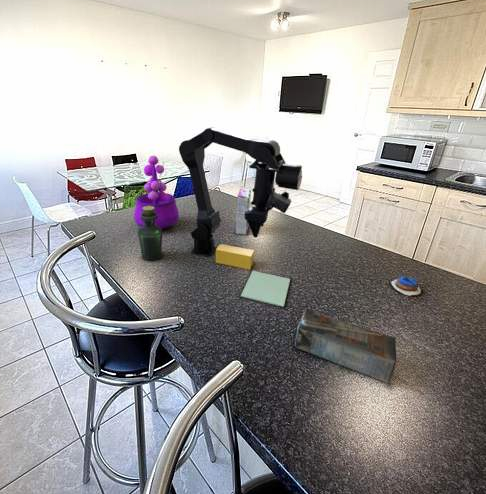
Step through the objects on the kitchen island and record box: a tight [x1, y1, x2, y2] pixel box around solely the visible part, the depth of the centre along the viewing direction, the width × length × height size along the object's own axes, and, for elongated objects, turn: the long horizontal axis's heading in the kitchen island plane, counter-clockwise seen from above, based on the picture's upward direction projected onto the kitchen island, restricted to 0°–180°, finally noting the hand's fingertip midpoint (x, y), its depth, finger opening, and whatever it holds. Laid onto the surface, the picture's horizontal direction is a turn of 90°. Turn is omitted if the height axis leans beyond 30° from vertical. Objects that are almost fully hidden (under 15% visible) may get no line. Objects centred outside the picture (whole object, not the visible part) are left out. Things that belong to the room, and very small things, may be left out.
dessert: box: [390, 274, 422, 296], centre depth 87 cm, size 8×7×6 cm
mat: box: [240, 270, 291, 308], centre depth 86 cm, size 12×14×1 cm
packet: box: [215, 243, 255, 271], centre depth 98 cm, size 12×4×5 cm, turn 69°
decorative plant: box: [133, 155, 180, 230], centre depth 120 cm, size 19×18×30 cm
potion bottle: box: [137, 206, 163, 262], centre depth 98 cm, size 8×8×18 cm
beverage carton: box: [294, 308, 397, 384], centre depth 63 cm, size 8×19×7 cm, turn 61°
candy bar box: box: [235, 188, 252, 236], centre depth 121 cm, size 11×5×16 cm, turn 168°
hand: (258, 231), depth 94 cm, fingers open, 9 cm apart
